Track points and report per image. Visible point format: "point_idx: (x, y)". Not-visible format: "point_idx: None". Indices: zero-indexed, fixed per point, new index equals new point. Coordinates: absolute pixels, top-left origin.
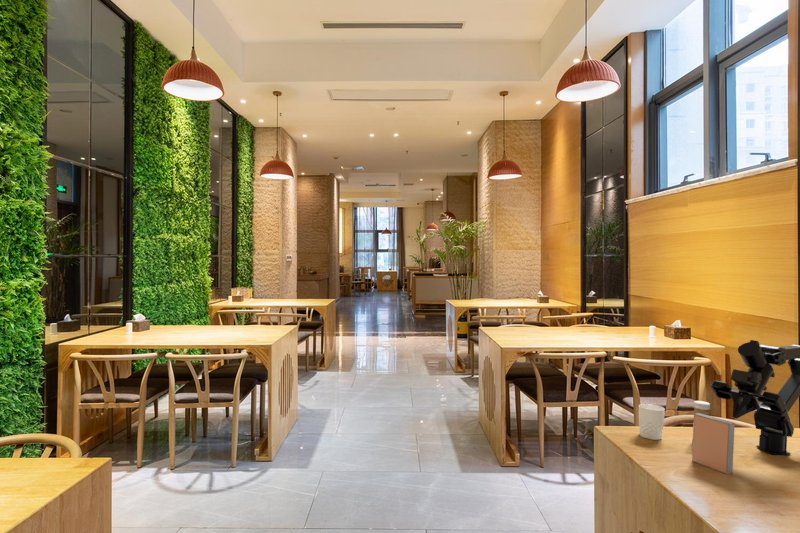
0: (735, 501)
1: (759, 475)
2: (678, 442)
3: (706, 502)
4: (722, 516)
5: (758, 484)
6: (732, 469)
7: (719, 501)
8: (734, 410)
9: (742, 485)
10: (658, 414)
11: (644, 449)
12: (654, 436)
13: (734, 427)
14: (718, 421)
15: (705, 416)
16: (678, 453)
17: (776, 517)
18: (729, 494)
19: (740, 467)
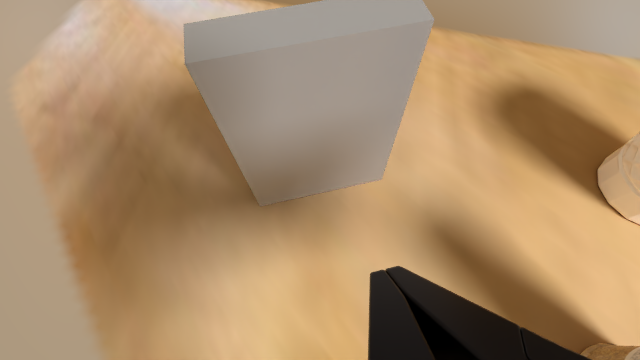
0: (133, 68)
1: (212, 292)
2: (588, 261)
3: (160, 19)
4: (111, 8)
5: (165, 210)
6: (257, 200)
7: (150, 41)
8: (430, 295)
9: (181, 154)
10: None
11: (475, 85)
12: (606, 170)
13: (197, 87)
14: (257, 16)
15: (352, 4)
16: (444, 162)
17: (46, 87)
18: (161, 82)
19: (293, 289)
